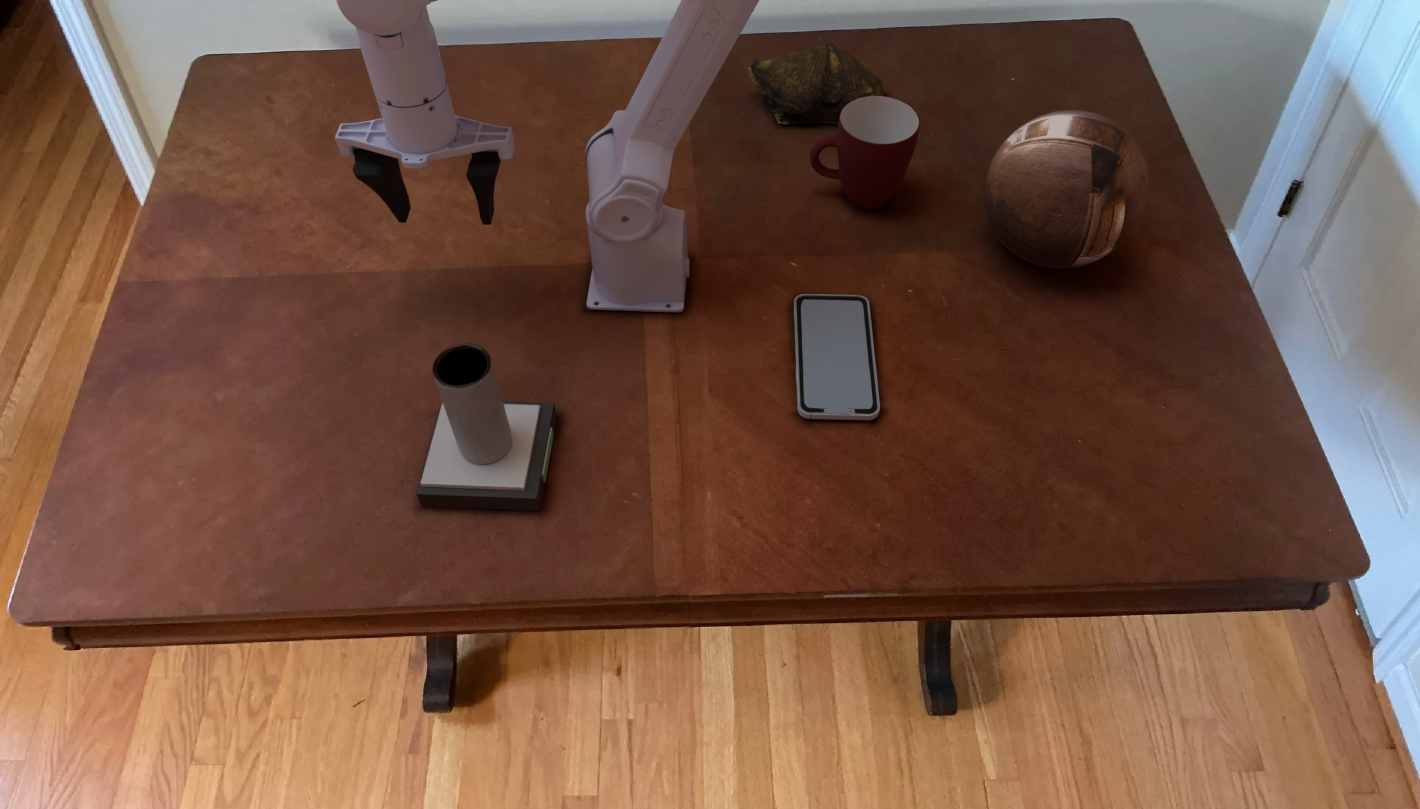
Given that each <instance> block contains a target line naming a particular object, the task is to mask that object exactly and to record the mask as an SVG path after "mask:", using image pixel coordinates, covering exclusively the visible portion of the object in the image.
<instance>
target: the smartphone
mask: <svg viewBox="0 0 1420 809" xmlns="http://www.w3.org/2000/svg"><path fill="white" fill-rule="evenodd" d="M870 307H871V306H870V301H869V300H868V298H867V297H866V296H864V295H860V294H827V293H826V294H825V293H823V294H820V293H819V294H817V293H813V294H812V293H801V294H799V295H797V296H796V297H795V298H794V299H793V320H794V321H793V322H794V348H795V350H794V351H795V383H796V401H797V402H796V404H797V405H796V406H797V412H798V414H799V415H800V416H801V417H802V418H804V419H807V420H840V421H841V420H842V421H843V420H849V421H873V420H874V419H876V418H877V417H878V416H879V414H880V410H881V405H880V404H881V403H880V394H879V384H878V374H877V373H878V372H877V364H876V355H875V347H874V337H873V326H872V318H871V317H872V316H871V308H870Z"/></svg>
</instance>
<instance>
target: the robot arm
mask: <svg viewBox="0 0 1420 809" xmlns="http://www.w3.org/2000/svg"><path fill="white" fill-rule="evenodd" d="M437 1H438V0H336V3H337V6H338V9H339V10H340V12H341V13H342V15H343V16H344V18H345V19H346V20H347V21H348V22H349V23H350V24H351V25H353V26H354V29H355V31H356V34H357V38H358V45H359V48H360V52H361V55H362V58H363V61H364V64H365V67H366V70H367V74H368V78H369V81H370V84H371V86H372V90H373V93H374V96H375V99H376V102H377V105H378V109H379V112H380V115H381V118H376V119H371V120H367V121H360V122H359V121H358V122H349V123H347V122H343V123H342V122H341V123H340V124H339V127H338V129H337V130H336V133H335V136H334V140H335V142H336V146H337V149H338V151H339V154H340V156H341V157H353V156H354V163H353V166H352V173H353V175H354V177H355V179H356V180H358V181H360V182H361V183H363V184H364V185H366V186H367V187H368V188H369V189H370V190H372V191H373V192H374V193H375V194H376V195H377V196H378V197H379V198H380V199H381V201H383V203H384V204H385V205H386V206H387V208H388V209H389V210H390V212H391V213H392V215H393V216H394V217H395V219H396V221H397V222H398V223H399V224H407V221H408V218H409V215H410V212H411V208H412V207H411V206H412V205H411V200H410V197H409V196H410V195H409V194H408V190H407V187H406V184H405V182H404V178H403V176H402V172H401V166H400V162H399V160H400V161H401V164H402V167H403V168H404V169H407V170H424V169H426V168H428V167H429V165H430V163H431V162H435V161H439V160H445V159H450V158H454V157H455V158H456V157H461V156H465V155H471V158H470V160H469V162H468V166H467V169H466V173H465V177H466V180H467V181H468V183H469V184H470V186H471V189H472V190H473V194H474V197H475V199H476V203H477V207H478V214H479V218H480V221H481V223H482V225H483V226H490V225H492V222H493V217H494V214H495V186H496V179H497V176H498V173H499V169H500V165H501V162H502V161H503V160H504V161H505V160H506V161H509V160H510V161H511V160H513V156H514V151H515V148H516V143H515V139H514V133H513V128H512V126H503V125H502V126H501V125H494V124H490V123H486V122H483V121H478V120H474V119H470V118H466V117H464V116H460V115H456V114H455V110H454V105H453V102H452V97H451V94H450V93H451V92H450V89H449V85H448V81H447V77H446V73H445V69H444V65H443V61H442V57H441V53H440V48H439V45H438V44H439V43H438V39H437V35H436V31H435V28H434V26H433V24H432V22H431V20H430V17H429V16H430V15H429V12H428V7H427V6H429V5H430V4H432V3H435V2H437ZM759 2H760V0H680V2H679V4H678V6H677V8H676V10H675V11H674V13H673V16H672V18H671V20H670V22H669V24H668V25H667V28H666V29H665V31H664V34H663V35H662V37H661V40H660V42H659V44H658V45H657V47H656V49H655V51H654V53H653V55H652V57H651V58H650V61H649V63H648V65H647V67H646V69H645V71H644V73H643V75H642V77H641V79H640V81H639V83H638V85H637V87H636V89H635V91H634V92H633V95H632V96H631V98H630V101H629V102H628V104H627V106H626V107H625V109H622V110H621V109H620V110H616V111H614V112H613V115H612V117H611V118H610V120H609V122H608V123H607V124H606V125H605V126H604V127H603V128H602V129H600V130H598V131H597V132H596V133H595V134H593V135H592V136H591V137H590V139H589V140H588V141H587V144H586V146H585V148H584V149H585V150H584V160H585V165H586V168H587V184H588V198H589V200H588V202H587V204H586V207H585V213H584V214H585V221H586V228H587V237H588V244H589V252H590V259H591V260H590V261H591V268H592V269H591V274H590V280H589V287H588V292H587V299H586V304H585V305H586V308H587V309H588V310H596V311H624V312H625V311H626V312H627V311H629V312H653V313H654V312H655V313H656V312H657V313H681V312H683V311H684V309H685V298H686V288H687V278H688V279H689V277H690V266H691V265H690V264H691V263H690V261H691V260H690V258H689V255H688V227H687V226H688V225H687V211H686V210H685V209H682V208H681V209H680V208H675V207H671V206H669V205H667V204H665V203H663V201H662V199H663V198H664V195H665V194H666V193H667V190H668V187H669V186H668V185H669V182H670V176H671V169H672V165H673V158H674V152H675V150H676V148H677V146H678V144H679V142H680V141H681V139H682V138H683V135H684V133H685V132H686V130H687V129H688V127H689V125H690V123H691V122H692V120H693V118H694V116H695V114H696V113H697V111H698V109H699V107H700V105H701V103H702V102H703V100H704V98H705V97H706V95H707V93H708V91H709V90H710V88H711V86H712V84H713V82H714V81H715V79H716V78H717V76H718V74H719V72H720V71H721V69H722V67H723V65H724V63H725V62H726V61H727V58H728V56H729V54H730V53H731V51H732V49H733V47H734V46H735V44H736V42H737V40H738V39H739V37H740V36H741V33H742V31H743V30H744V28H745V26H746V25H747V23H748V21H749V19H750V18H751V16H752V15H753V13H754V11H755V9H756V7H757V5H758V3H759Z"/></svg>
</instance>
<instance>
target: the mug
mask: <svg viewBox="0 0 1420 809" xmlns="http://www.w3.org/2000/svg"><path fill="white" fill-rule="evenodd" d="M920 124H921V122H920V117H919V115H918V113H917V112H916V110H915V109H913V107H911V106H910V105H909V104H907V103H906V102H904V101H902V100H900V99H897V98H894V97H890V96H885V95H884V96H867V97H862V98H858V99H855V100H853V101H851V102H849V103H848V104H847V105H846V106H845V107H844V108H843V109H842V110H841V113H840V116H839V123H838V124H837V128H836V133H834V134H831V133H830V134H825V135H823V136H821V137H819V138H818V139H816V141H815V142H814V144H813V145H812V147H811V149H810V154H809V162H810V165H811V167H812V169H813V170H814V171H815V172H816V173H817V174H818V175H820V176H822V177H824V178H828V179H834V180H839V181H840V184H841V186H842V188H843V189H844V191H845V193H846V195H847V197H848V199H849V200H850V202H851V203H852V204H853V205H854V206H856V207H858V208H861V209H866V210H874V209H877V208H880V207H882V206H883V205H884V204H886V203H887V202H888V201H889V199H891V198H892V196H893V195H894V194H895V193H896V192H897V190H898V189H899V188H900V186H901V185H902V182H903V179H904V177H905V175H906V172H907V170H908V167H909V165H910V164H911V163H910V162H911V160H912V159H913V156H914V154H915V150H916V146H917V142H918V137H919V132H920ZM827 148H835V149H836V154H837V162H838V163H837V164H838V169H835V168H832V167H828V166H826V165H824V164H823V163H822V162H821V160H820V154H821V153H822V151H823V150H824V149H827Z"/></svg>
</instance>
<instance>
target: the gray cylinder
mask: <svg viewBox="0 0 1420 809" xmlns="http://www.w3.org/2000/svg"><path fill="white" fill-rule="evenodd" d="M431 372H432V375H433V379H434V382H435V385H436V388H437V391H438V393H439V396H440V400H441V402H443V405H444V408H445V411H446V414H447V417H448V420H449V423H450V425H451V428H452V431H453V434H454V437H455V440H456V443H457V446H458V448H459V451H460V453H461V455H462V456H463V457H464V458H465V459H466V460H467V461H469V462H471V463H474V464H482V465H483V464H490V463H493V462H496V461H498V460H500V459H501V458H503V457H504V456H505V455H506V454H507V453H508V451H509V450H510V448H511V445H512V434H511V430H510V426H509V422H508V418H507V415H506V411H505V407H504V404H503V401H504V400H503V396H502V393H501V389H500V386H499V382H498V378H497V374H496V370H495V367H494V364H493V360H492V356H491V355H490V353H489V352H488V350H486V349H485V348H484V347H482V346H480V345H478V344H475V343H457V344H454V345H452V346H449V347H446V348H445V349H444V350H442V351H441V352H440V353H439V354H438V355H437V356H436V357H435V359H434V361H433V363H432V368H431Z"/></svg>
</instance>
